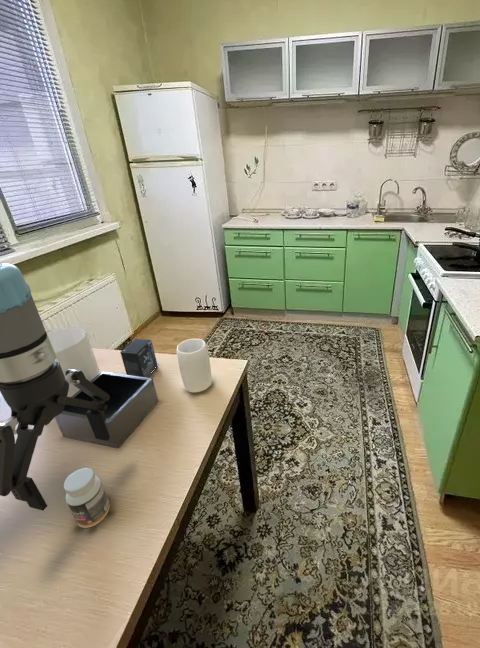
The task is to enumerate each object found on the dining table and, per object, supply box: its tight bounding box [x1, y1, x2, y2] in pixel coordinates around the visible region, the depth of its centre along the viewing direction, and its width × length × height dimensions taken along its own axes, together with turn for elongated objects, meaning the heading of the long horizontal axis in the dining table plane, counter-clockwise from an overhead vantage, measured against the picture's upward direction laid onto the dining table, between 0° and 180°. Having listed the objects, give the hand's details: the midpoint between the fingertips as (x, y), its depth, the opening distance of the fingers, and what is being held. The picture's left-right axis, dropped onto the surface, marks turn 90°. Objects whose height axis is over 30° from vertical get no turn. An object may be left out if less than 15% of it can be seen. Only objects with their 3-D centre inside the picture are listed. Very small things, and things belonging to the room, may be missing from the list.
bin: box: [53, 370, 159, 449], centre depth 83 cm, size 16×16×8 cm
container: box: [46, 326, 101, 397], centre depth 90 cm, size 14×14×18 cm
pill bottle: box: [63, 467, 111, 529], centre depth 60 cm, size 6×6×10 cm
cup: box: [176, 338, 213, 393], centre depth 92 cm, size 8×8×14 cm
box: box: [120, 338, 159, 378], centre depth 99 cm, size 8×6×11 cm
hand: (74, 468), depth 56 cm, fingers open, 13 cm apart
